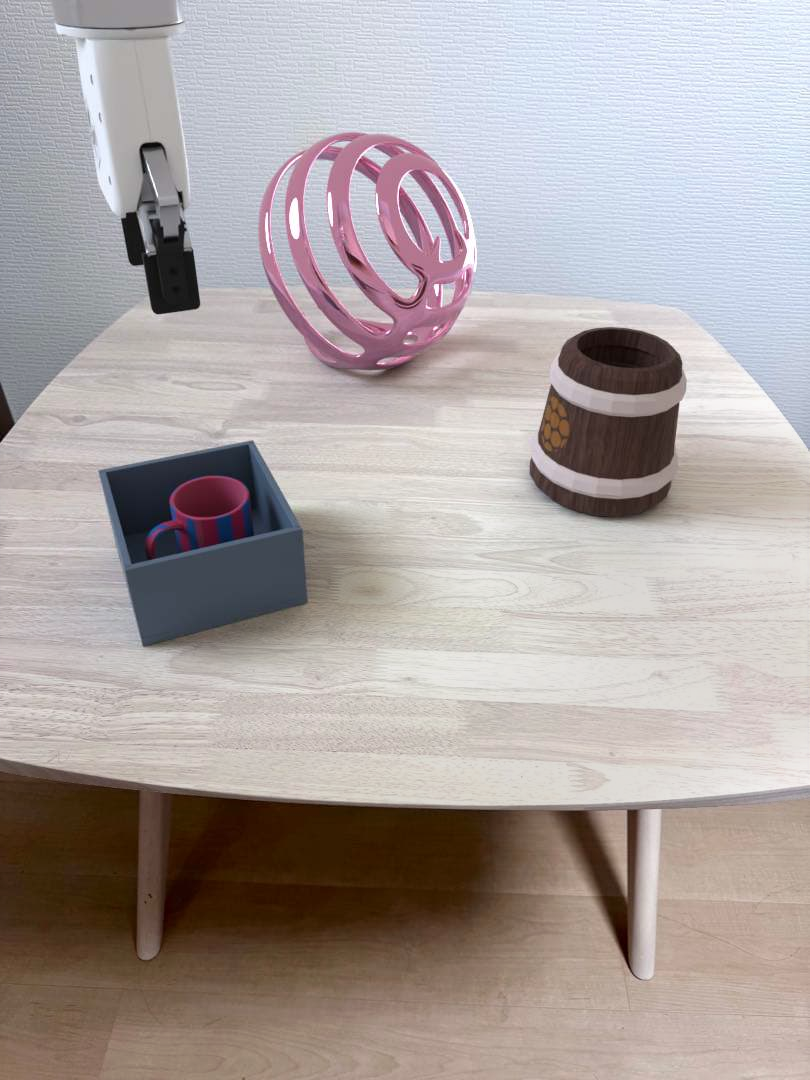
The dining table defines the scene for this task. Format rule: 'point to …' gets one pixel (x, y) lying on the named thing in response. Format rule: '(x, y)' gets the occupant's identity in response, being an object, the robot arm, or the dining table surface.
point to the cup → (206, 514)
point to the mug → (610, 423)
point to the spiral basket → (420, 259)
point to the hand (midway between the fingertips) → (163, 285)
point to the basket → (211, 572)
